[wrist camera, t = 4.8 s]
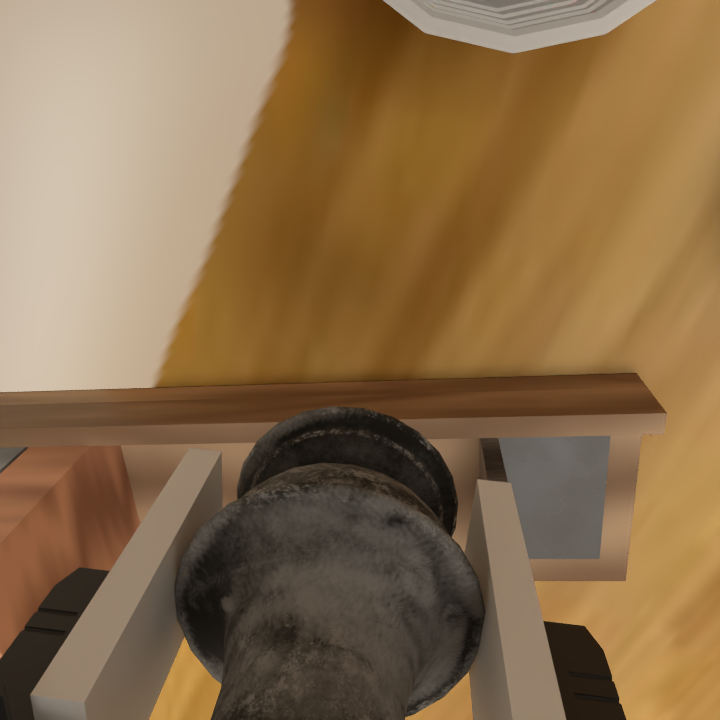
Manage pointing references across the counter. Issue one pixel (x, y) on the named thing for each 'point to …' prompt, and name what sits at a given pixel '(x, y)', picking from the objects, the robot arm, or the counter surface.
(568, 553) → the bookend
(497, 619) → the robot arm
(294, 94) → the counter surface
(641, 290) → the counter surface
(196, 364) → the counter surface
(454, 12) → the plastic cup
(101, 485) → the wooden book rack
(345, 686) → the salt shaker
